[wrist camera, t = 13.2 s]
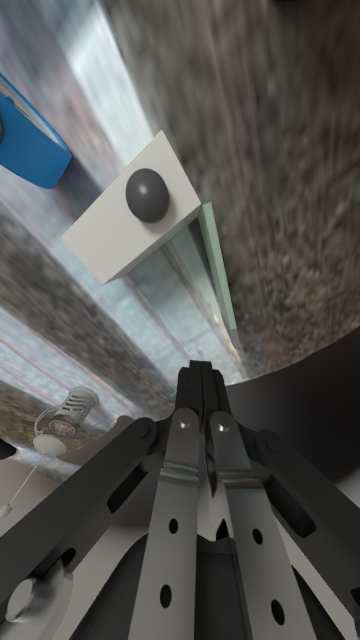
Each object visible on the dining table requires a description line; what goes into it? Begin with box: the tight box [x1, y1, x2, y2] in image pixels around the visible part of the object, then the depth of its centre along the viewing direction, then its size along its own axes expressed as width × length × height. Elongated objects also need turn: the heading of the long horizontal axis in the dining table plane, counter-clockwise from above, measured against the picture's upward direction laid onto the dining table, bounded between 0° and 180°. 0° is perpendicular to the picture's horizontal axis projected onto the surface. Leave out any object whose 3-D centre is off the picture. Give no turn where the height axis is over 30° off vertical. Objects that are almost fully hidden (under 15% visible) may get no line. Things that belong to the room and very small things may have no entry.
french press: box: [0, 387, 99, 517], centre depth 40 cm, size 10×12×25 cm
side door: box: [198, 202, 240, 349], centre depth 28 cm, size 22×1×10 cm, turn 18°
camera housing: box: [61, 130, 201, 285], centre depth 24 cm, size 18×8×12 cm, turn 125°
